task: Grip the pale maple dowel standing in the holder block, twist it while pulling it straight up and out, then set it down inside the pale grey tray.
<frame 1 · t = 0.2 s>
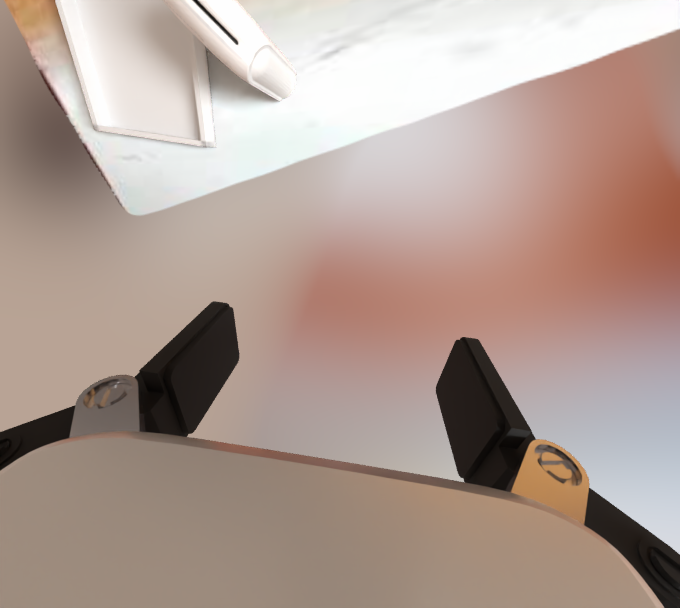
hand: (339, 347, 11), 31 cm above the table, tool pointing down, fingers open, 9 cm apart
photo printer: (259, 56, 30), on the table
tray: (149, 67, 32), on the table
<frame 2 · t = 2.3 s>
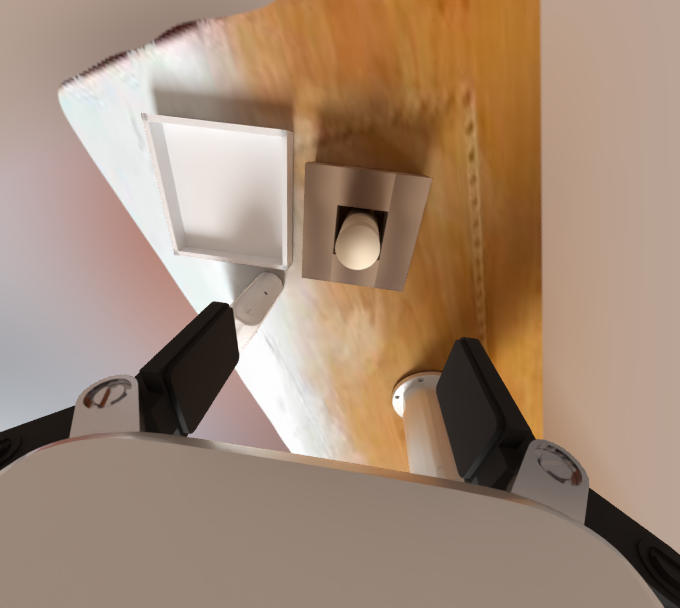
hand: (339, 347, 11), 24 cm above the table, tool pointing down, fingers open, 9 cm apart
photo printer: (260, 297, 39), on the table
tray: (233, 198, 31), on the table
dowel: (359, 234, 27), in the holder
holder: (360, 223, 31), on the table
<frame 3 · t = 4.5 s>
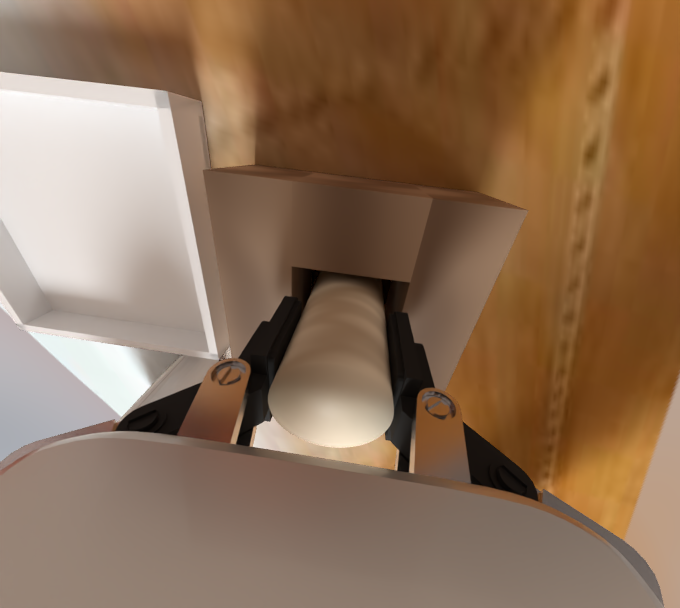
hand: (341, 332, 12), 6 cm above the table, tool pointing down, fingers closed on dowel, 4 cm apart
photo printer: (191, 381, 24), on the table
tray: (110, 232, 17), on the table
dowel: (343, 322, 12), in the holder, touching gripper
holder: (350, 279, 17), on the table
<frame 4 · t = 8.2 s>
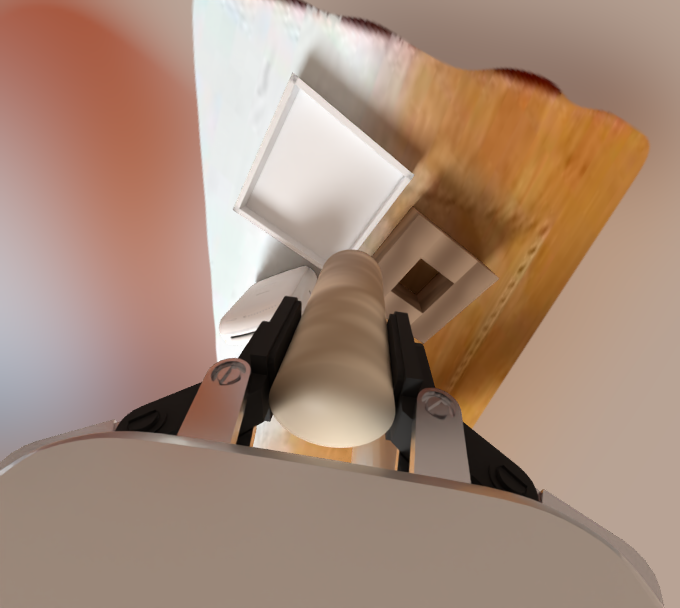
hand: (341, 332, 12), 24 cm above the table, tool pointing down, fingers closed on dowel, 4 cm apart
photo printer: (286, 283, 38), on the table
tray: (321, 191, 31), on the table
dowel: (344, 321, 12), point 23 cm above the table, touching gripper
holder: (415, 271, 35), on the table
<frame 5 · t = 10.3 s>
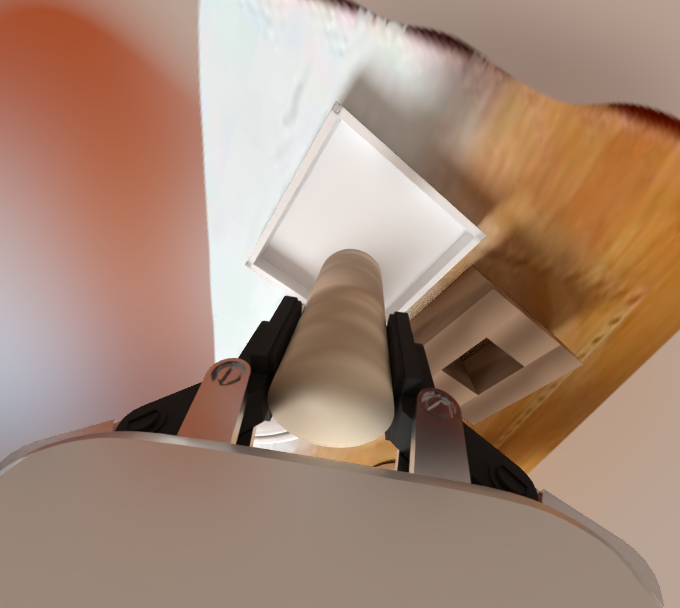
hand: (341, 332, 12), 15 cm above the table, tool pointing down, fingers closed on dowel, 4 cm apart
photo printer: (304, 341, 32), on the table
tray: (357, 243, 25), on the table
dowel: (343, 321, 12), point 14 cm above the table, touching gripper
holder: (465, 336, 29), on the table
when the fingers open (8 cm above the table, at t = 11.9 s): dowel drops 1 cm, resting on tray.
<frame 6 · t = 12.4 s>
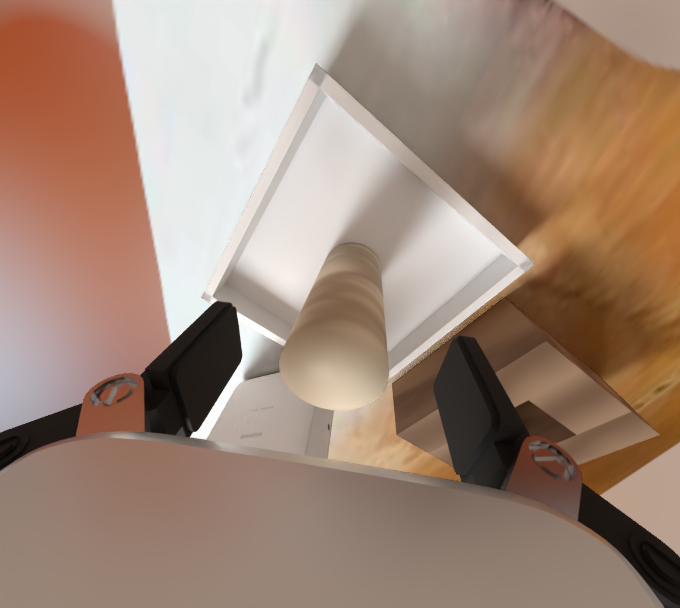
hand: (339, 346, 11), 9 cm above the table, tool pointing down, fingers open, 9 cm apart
photo printer: (288, 382, 26), on the table
tray: (352, 267, 18), on the table
dowel: (345, 305, 14), in the tray
holder: (489, 381, 23), on the table
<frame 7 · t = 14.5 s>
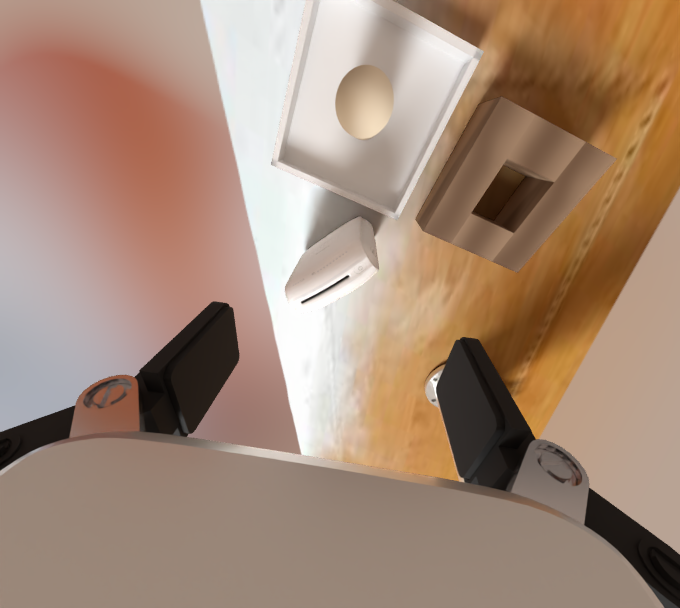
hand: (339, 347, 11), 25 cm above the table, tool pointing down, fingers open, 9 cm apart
photo printer: (338, 244, 34), on the table
tray: (364, 117, 26), on the table
dowel: (364, 111, 22), in the tray
holder: (489, 190, 29), on the table
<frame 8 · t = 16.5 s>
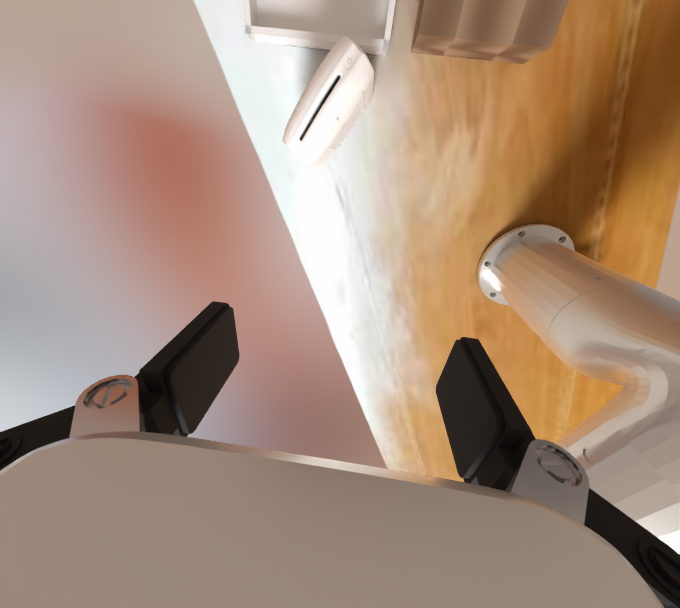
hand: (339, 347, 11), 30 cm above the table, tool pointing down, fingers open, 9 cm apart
photo printer: (337, 120, 32), on the table
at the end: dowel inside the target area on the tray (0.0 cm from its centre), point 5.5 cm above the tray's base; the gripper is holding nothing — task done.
